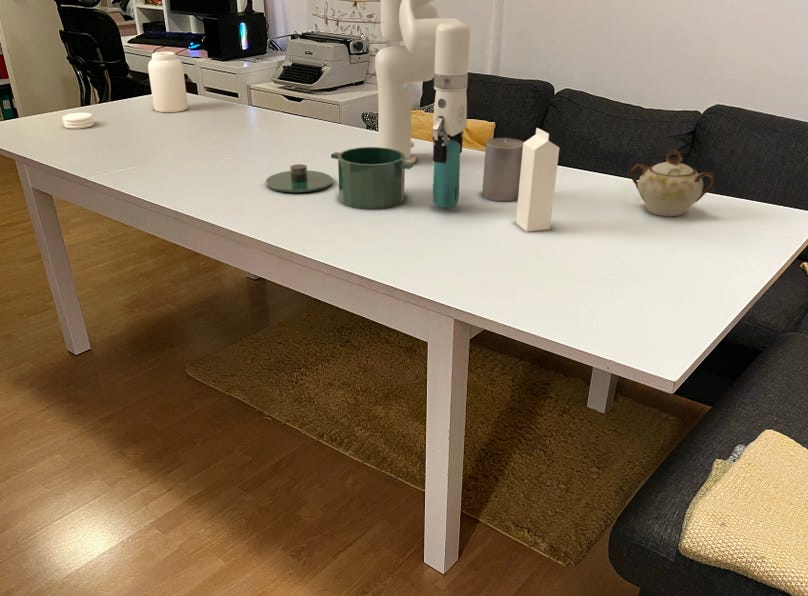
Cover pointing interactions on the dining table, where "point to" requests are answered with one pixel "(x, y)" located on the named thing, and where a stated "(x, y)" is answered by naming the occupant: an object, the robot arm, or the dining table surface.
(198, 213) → the dining table surface
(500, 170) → the pillar candle
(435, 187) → the beverage bottle
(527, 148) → the milk
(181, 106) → the white jar
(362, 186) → the pot
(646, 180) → the sugar bowl
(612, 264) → the dining table surface
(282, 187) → the lid
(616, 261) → the dining table surface
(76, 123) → the white flat round stack
